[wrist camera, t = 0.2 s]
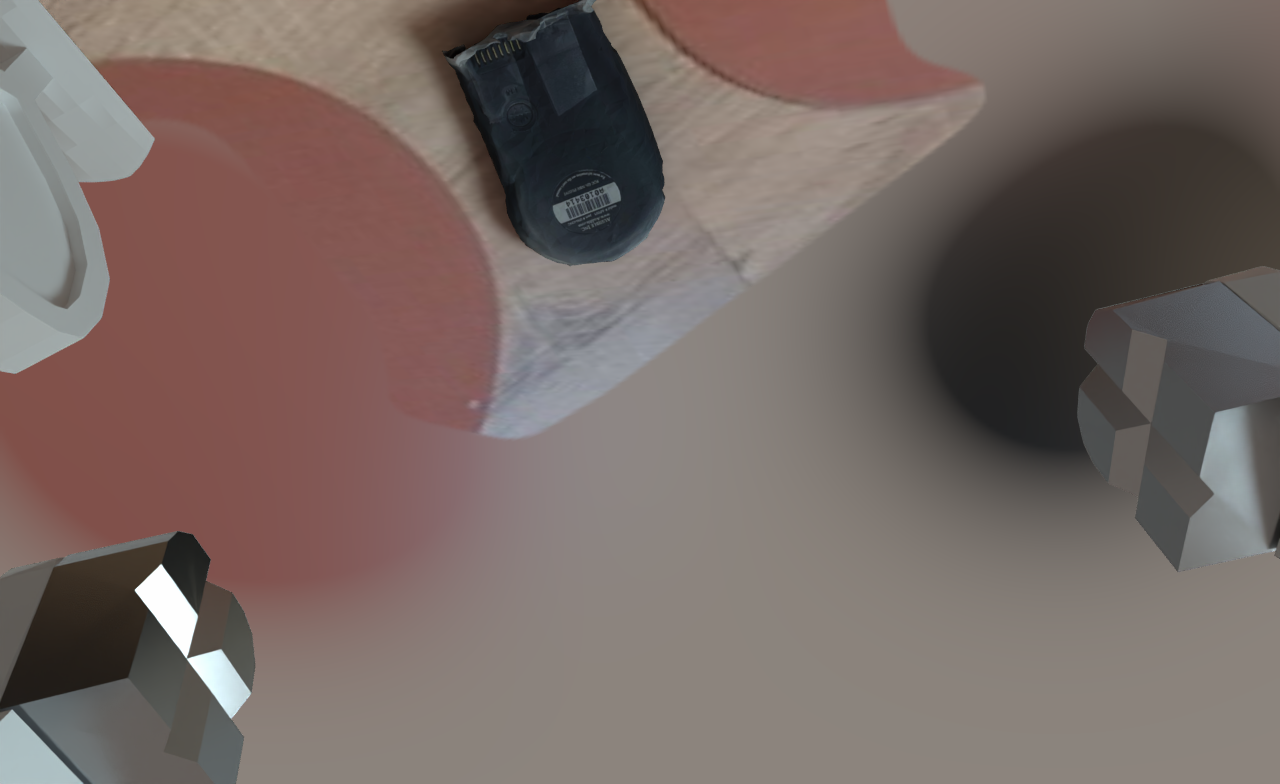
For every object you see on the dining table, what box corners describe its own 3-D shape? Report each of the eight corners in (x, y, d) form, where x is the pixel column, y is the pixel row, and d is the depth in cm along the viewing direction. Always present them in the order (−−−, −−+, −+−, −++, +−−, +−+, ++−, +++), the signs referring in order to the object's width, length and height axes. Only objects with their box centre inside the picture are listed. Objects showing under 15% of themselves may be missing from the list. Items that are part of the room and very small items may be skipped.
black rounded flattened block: (427, 44, 55) (539, 280, 62) (433, 59, 50) (554, 313, 57) (584, -27, 55) (677, 216, 63) (605, -19, 50) (703, 244, 58)
